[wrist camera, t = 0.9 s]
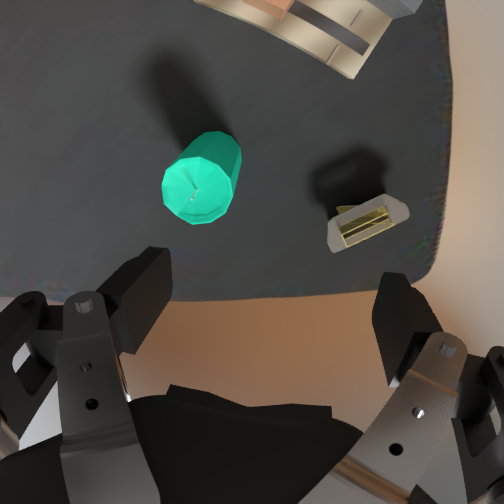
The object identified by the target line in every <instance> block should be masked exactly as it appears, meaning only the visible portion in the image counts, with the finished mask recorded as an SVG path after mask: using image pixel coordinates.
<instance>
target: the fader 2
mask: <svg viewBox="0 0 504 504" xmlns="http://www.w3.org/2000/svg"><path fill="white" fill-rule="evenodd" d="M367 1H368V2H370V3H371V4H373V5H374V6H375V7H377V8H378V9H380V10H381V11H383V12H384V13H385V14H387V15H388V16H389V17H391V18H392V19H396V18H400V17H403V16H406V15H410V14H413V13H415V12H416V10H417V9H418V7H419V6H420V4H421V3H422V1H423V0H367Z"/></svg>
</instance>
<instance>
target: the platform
mask: <svg viewBox="0 0 504 504" xmlns="http://www.w3.org/2000/svg"><path fill="white" fill-rule="evenodd" d="M336 209H337V211H338V213H339V215H338V216H335V217H333V218H332V219H331V220H330V221H329V222H328V236H327V243H328V246H329V247H330V249H331V251H332V252H334V253H336V252H338V251H340V250H343V249H345V248H347V247H349V246H351V245H354V244H356V243H358V242H360V241H362V240H364V239H366V238H369V237H371V236H373V235H375V234H377V233H379V232H381V231H383V230H386V229H388V228H390V227H392V226H394V225H396V224H398V223H400V222H402V221H404V220H406V219H408V218H409V216H410V214H409V211H408V207H407V206H406V205H405V204H404V203H402V202H400V201H398V200H397V199H395V198H393V197H391V196H389V195H387V194H382V195H380V196H378V197H375V198H373V199H371V200H369V201H367V202H365V203H363V204H361V205H353V206H348V205H347V206H340V207H338V206H337V208H336Z"/></svg>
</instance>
